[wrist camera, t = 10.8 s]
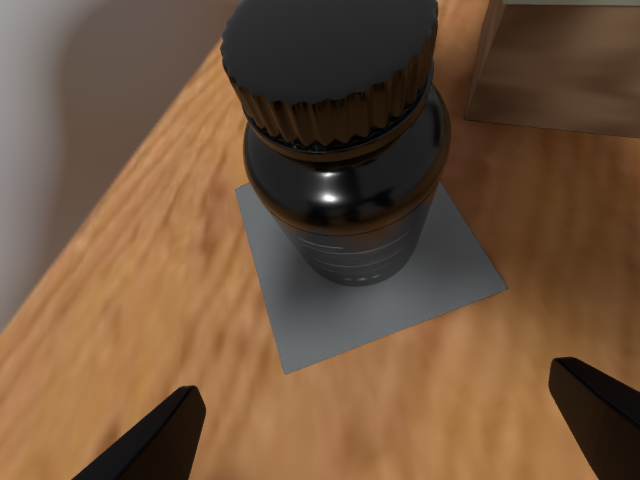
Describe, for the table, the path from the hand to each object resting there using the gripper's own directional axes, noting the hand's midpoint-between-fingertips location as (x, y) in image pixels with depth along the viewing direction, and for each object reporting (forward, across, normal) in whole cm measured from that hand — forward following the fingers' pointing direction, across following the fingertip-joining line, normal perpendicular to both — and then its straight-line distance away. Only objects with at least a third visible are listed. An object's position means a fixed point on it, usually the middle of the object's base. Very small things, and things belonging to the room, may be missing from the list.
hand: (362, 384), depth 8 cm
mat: (+11, 0, 0) cm, 11 cm away
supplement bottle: (+11, 0, 0) cm, 11 cm away
